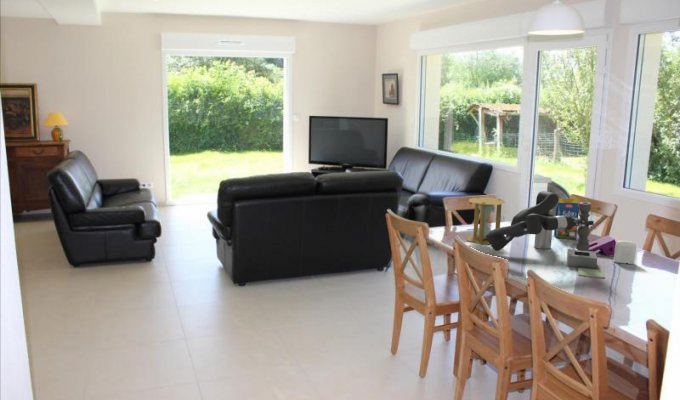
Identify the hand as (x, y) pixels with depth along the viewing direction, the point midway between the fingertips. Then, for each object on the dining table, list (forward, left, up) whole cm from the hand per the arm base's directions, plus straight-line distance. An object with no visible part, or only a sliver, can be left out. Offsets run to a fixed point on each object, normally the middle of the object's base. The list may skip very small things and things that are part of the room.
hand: (590, 221), depth 307 cm
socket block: (-2, 0, -24) cm, 24 cm away
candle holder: (-2, -1, -15) cm, 15 cm away
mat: (+2, -15, -24) cm, 28 cm away
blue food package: (-9, +60, -24) cm, 65 cm away
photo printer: (+20, +13, -24) cm, 34 cm away
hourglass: (-56, +33, -24) cm, 70 cm away
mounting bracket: (+7, +29, -24) cm, 38 cm away
